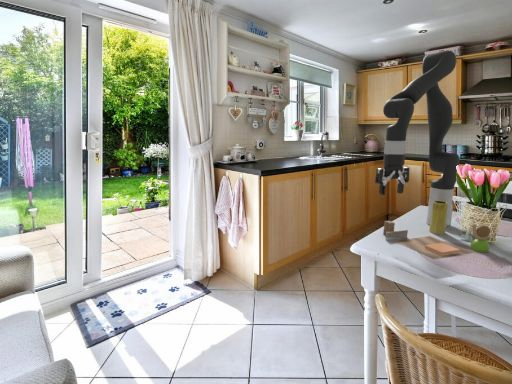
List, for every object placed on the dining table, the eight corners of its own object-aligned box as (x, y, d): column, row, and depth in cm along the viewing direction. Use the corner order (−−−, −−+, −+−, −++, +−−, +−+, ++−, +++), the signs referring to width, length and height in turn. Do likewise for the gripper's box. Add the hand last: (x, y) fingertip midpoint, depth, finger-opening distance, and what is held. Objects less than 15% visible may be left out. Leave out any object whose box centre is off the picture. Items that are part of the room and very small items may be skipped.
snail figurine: (463, 250, 115) (468, 218, 113) (481, 250, 115) (486, 219, 113) (473, 256, 110) (478, 223, 108) (492, 256, 110) (497, 223, 107)
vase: (447, 238, 128) (451, 204, 125) (430, 237, 129) (435, 203, 126) (441, 233, 134) (446, 200, 131) (426, 232, 135) (430, 200, 132)
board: (429, 239, 127) (429, 236, 126) (472, 256, 110) (473, 252, 110) (393, 244, 121) (393, 240, 120) (432, 263, 104) (433, 258, 104)
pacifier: (454, 244, 123) (473, 246, 120) (456, 228, 122) (475, 230, 119) (454, 238, 129) (472, 240, 126) (455, 223, 128) (473, 225, 125)
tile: (442, 242, 115) (459, 249, 109) (441, 245, 116) (459, 252, 109) (425, 245, 113) (442, 252, 106) (424, 248, 113) (441, 255, 107)
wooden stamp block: (375, 238, 127) (376, 222, 126) (395, 236, 130) (396, 219, 129) (385, 243, 121) (387, 226, 120) (406, 241, 125) (408, 224, 123)
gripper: (402, 151, 128) (398, 191, 131) (372, 152, 123) (369, 193, 126) (416, 153, 121) (412, 194, 124) (386, 154, 116) (382, 197, 119)
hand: (391, 193), depth 125 cm, fingers open, 8 cm apart
